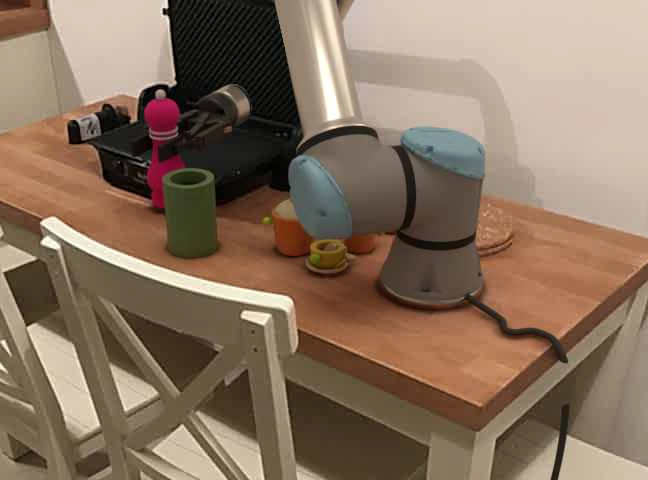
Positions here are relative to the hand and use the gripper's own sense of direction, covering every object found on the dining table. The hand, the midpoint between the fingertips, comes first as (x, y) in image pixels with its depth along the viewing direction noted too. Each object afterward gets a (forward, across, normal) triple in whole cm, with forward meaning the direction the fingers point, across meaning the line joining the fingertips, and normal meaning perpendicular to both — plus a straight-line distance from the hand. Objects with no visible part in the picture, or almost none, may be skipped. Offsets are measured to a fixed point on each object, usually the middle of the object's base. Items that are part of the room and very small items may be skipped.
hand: (146, 151), depth 155 cm
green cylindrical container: (+6, -13, -12) cm, 19 cm away
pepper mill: (-5, 0, -11) cm, 12 cm away
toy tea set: (-7, -34, -12) cm, 36 cm away
